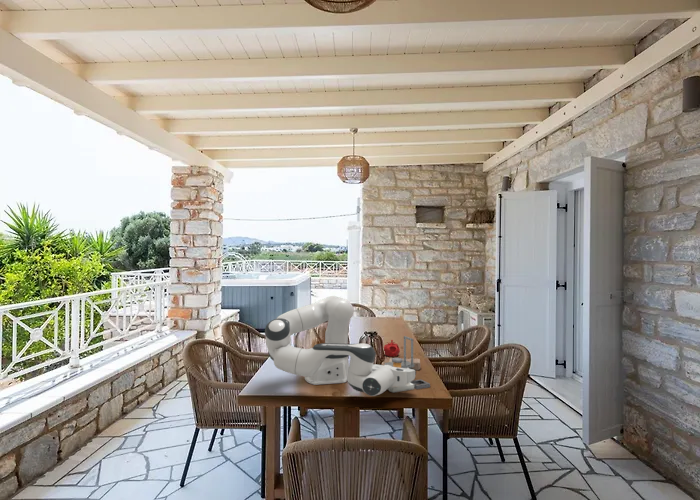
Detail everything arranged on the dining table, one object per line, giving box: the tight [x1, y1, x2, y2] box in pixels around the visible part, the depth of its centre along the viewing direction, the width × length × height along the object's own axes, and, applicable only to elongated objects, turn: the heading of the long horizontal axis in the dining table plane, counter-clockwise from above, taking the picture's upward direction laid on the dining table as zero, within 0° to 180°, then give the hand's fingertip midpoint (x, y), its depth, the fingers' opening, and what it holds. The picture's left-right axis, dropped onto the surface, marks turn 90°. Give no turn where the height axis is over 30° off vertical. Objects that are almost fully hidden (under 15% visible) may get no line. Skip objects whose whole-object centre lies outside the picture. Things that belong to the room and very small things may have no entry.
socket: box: [410, 378, 431, 390], centre depth 181 cm, size 7×7×2 cm
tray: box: [387, 383, 415, 393], centre depth 179 cm, size 11×11×2 cm
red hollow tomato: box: [383, 339, 401, 358], centre depth 236 cm, size 10×10×9 cm
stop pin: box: [391, 357, 404, 368], centre depth 179 cm, size 5×5×12 cm
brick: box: [388, 357, 421, 371], centre depth 210 cm, size 16×8×5 cm, turn 81°
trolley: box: [384, 335, 417, 376], centre depth 193 cm, size 13×9×19 cm
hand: (397, 367), depth 179 cm, fingers open, 8 cm apart
